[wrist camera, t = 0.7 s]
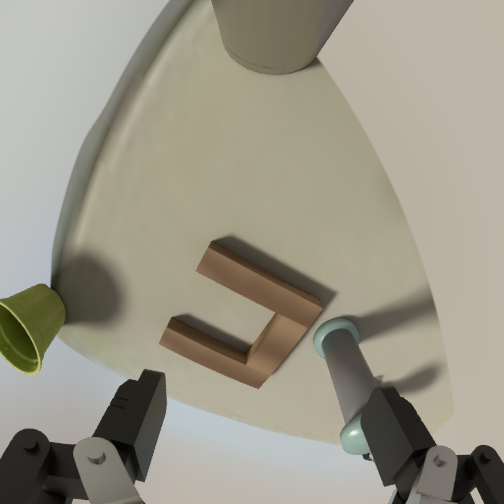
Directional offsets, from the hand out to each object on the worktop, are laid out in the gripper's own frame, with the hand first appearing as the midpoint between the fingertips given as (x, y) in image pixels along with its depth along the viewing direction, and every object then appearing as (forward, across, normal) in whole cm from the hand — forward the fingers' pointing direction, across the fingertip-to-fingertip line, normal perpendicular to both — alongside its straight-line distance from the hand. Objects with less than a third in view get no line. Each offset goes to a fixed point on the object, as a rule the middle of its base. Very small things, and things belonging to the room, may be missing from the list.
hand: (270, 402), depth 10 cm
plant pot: (+19, +25, +9) cm, 33 cm away
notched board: (+19, +1, +6) cm, 20 cm away
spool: (+18, -10, +7) cm, 22 cm away
